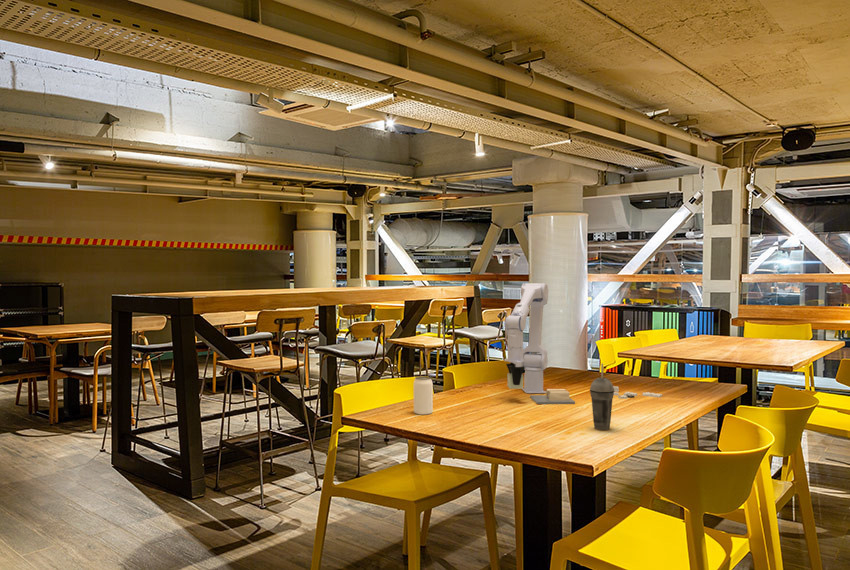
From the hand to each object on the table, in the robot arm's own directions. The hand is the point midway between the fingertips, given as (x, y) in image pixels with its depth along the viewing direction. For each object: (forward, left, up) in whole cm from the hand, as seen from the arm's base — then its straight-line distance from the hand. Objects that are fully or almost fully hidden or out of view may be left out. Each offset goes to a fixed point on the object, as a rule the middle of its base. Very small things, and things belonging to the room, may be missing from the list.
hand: (515, 383), depth 235 cm
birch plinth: (0, +16, -7) cm, 17 cm away
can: (+20, -35, -7) cm, 41 cm away
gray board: (0, +14, -7) cm, 15 cm away
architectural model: (-9, +44, -7) cm, 45 cm away
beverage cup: (+44, +19, -7) cm, 48 cm away
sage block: (0, 0, -2) cm, 2 cm away
